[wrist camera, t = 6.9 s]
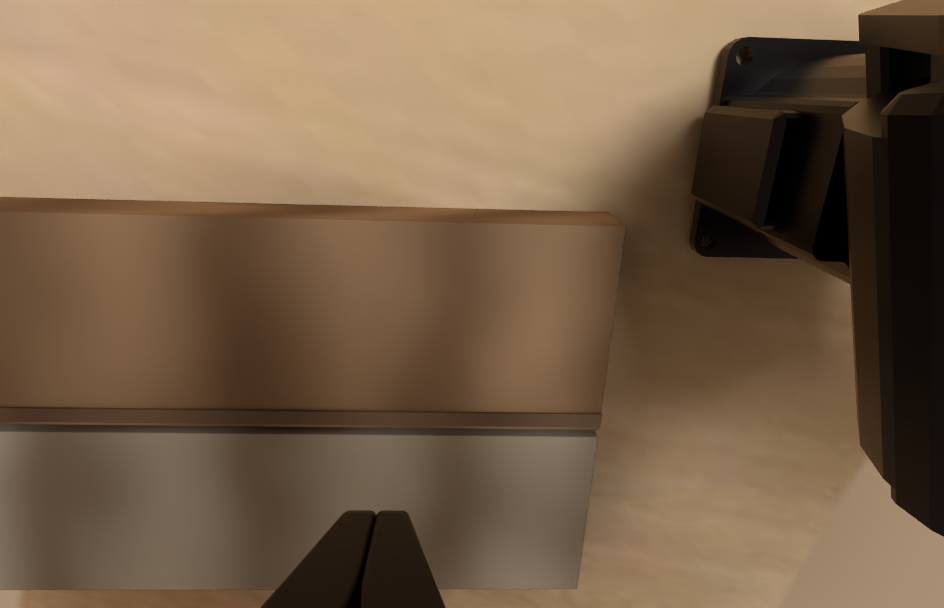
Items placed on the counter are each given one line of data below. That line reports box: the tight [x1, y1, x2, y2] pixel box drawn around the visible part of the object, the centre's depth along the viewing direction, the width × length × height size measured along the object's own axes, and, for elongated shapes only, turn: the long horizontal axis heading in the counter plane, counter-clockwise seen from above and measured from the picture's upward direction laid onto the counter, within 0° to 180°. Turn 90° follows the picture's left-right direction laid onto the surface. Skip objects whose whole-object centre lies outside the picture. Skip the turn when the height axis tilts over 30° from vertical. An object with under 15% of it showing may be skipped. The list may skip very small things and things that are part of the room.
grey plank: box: [0, 424, 598, 590], centre depth 21 cm, size 22×7×2 cm, turn 88°
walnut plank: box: [0, 197, 626, 430], centre depth 18 cm, size 22×7×2 cm, turn 88°
